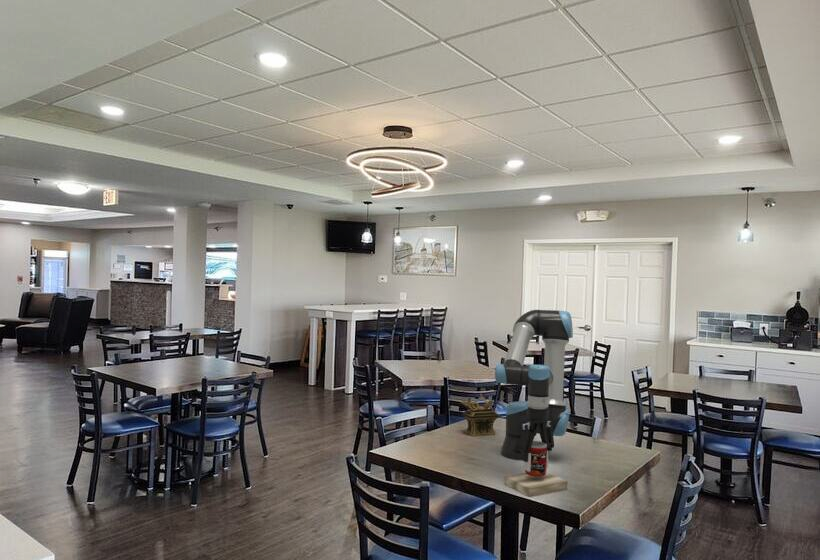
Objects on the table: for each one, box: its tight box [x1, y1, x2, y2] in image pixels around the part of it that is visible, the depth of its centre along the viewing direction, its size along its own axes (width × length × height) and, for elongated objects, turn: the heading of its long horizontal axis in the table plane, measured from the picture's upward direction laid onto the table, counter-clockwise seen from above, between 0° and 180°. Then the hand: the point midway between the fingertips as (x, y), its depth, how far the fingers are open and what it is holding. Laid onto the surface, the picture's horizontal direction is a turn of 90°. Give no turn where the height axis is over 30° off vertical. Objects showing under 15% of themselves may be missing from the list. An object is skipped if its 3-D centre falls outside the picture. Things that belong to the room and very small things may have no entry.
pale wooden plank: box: [503, 471, 568, 498], centre depth 206 cm, size 14×18×3 cm
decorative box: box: [460, 393, 500, 437], centre depth 281 cm, size 20×10×20 cm, turn 111°
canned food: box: [524, 440, 547, 477], centre depth 206 cm, size 8×8×11 cm
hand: (536, 468), depth 206 cm, fingers closed on canned food, 8 cm apart
